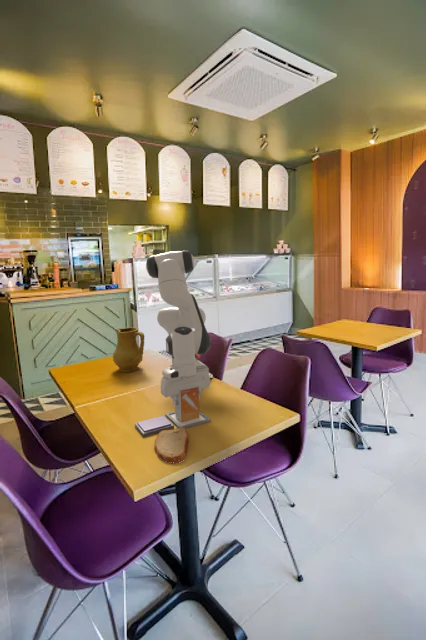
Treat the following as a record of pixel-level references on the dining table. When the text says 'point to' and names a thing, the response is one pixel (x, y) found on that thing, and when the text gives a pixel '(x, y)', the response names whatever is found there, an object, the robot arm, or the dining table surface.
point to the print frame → (188, 423)
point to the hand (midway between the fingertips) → (186, 402)
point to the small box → (187, 404)
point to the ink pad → (154, 425)
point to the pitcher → (128, 349)
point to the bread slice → (172, 445)
